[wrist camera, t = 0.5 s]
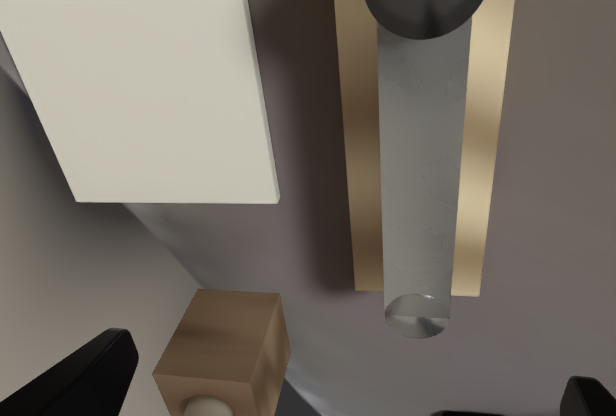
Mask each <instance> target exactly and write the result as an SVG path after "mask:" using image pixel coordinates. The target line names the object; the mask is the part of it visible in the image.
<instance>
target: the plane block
mask: <svg viewBox="0 0 616 416" xmlns="http://www.w3.org/2000/svg"><path fill="white" fill-rule="evenodd" d="M514 1H515V0H483V2H482V3H481V5H480V6H479V8H478V9H477V11H476V12H475V13H474V14H473V15H472V27H471V40H470V53H469V66H468V79H467V92H466V105H465V118H464V131H463V145H462V158H461V171H460V184H459V197H458V210H457V223H456V236H455V249H454V262H453V275H452V288H451V295H458V296H479V291H480V283H481V275H482V267H483V258H484V250H485V242H486V233H487V225H488V217H489V209H490V200H491V192H492V184H493V175H494V167H495V159H496V150H497V142H498V134H499V126H500V117H501V109H502V101H503V92H504V84H505V76H506V68H507V59H508V51H509V43H510V34H511V26H512V18H513V9H514ZM334 4H335V18H336V32H337V45H338V59H339V73H340V87H341V100H342V114H343V128H344V142H345V155H346V169H347V183H348V197H349V210H350V224H351V238H352V252H353V265H354V279H355V291H375V292H384V270H383V235H382V199H381V163H380V127H379V92H378V56H377V20H376V19H375V18H374V16H373V15H372V14H371V12H370V10H369V8H368V7H367V5H366V2H365V0H334Z"/></svg>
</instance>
